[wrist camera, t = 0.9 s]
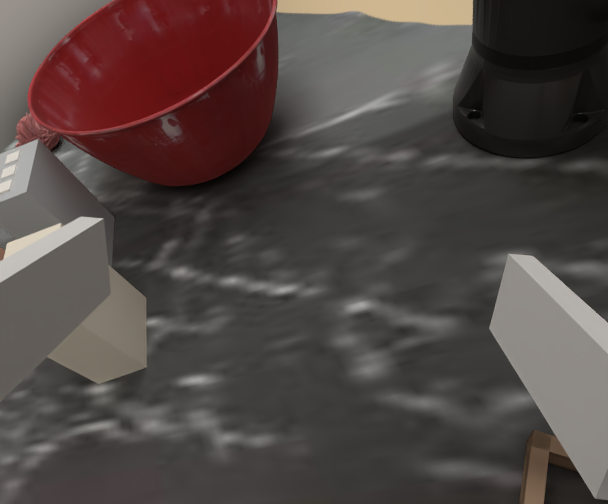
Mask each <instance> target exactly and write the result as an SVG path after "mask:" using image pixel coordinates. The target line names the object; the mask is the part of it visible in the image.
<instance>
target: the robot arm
mask: <svg viewBox="0 0 608 504" xmlns="http://www.w3.org/2000/svg"><path fill="white" fill-rule="evenodd" d="M453 118H454V122H455V125H456V127H457V129H458V130H459V132H460V133H461V134H462V135H463V136H464V137H465V138H466V139H467V140H468V141H470V142H471V143H473V144H474V145H476V146H478V147H480V148H482V149H484V150H487V151H489V152H492V153H496V154H500V155H505V156H511V157H542V156H549V155H554V154H558V153H562V152H565V151H568V150H571V149H574V148H576V147H578V146H580V145H582V144H584V143H586V142H587V141H589V140H590V139H592V138H593V137H594V136H596V135H597V134H598V133H599V132H600V131H601V130H602V129H603V127H604V126H605V125H606V123H607V121H608V0H473V33H472V46H471V48H470V51H469V54H468V56H467V59H466V61H465V64H464V66H463V69H462V71H461V74H460V77H459V79H458V82H457V84H456V87H455V90H454V96H453ZM110 294H111V288H110V277H109V267H108V257H107V246H106V236H105V226H104V219H103V218H92V217H79V218H77V219H76V220H74V221H72V222H70V223H68V224H66V225H65V226H63V227H61V228H59V229H57V230H56V231H54V232H52V233H50V234H48V235H47V236H45V237H43V238H41V239H39V240H38V241H36V242H34V243H32V244H30V245H29V246H27V247H25V248H23V249H21V250H20V251H18V252H16V253H14V254H12V255H11V256H9V257H7V258H5V259H3V260H2V261H0V402H1V401H2V400H3V399H4V398H5V397H6V396H7V395H8V394H9V393H10V392H11V391H12V390H13V389H14V388H15V387H16V386H17V385H18V384H19V383H20V382H21V381H23V380H24V379H25V378H26V377H27V376H28V375H29V374H30V373H31V372H32V371H33V370H34V369H35V368H36V367H37V366H38V365H39V364H40V363H41V362H42V361H43V360H44V359H45V358H46V357H47V356H48V355H49V354H50V353H51V352H52V351H53V350H54V349H55V348H56V347H57V346H58V345H59V344H60V343H61V342H62V341H63V340H64V339H65V338H66V337H67V336H69V335H70V334H71V333H72V332H73V331H74V330H75V329H76V328H77V327H78V326H79V325H80V324H81V323H82V322H83V321H84V320H85V319H86V318H87V317H88V316H89V315H90V314H91V313H92V312H93V311H94V310H95V309H96V308H97V307H98V306H99V305H100V304H101V303H102V302H103V301H104V300H105V299H106V298H107V297H108V296H109V295H110ZM489 329H490V331H491V332H492V334H493V335H494V337H495V339H496V340H497V342H498V344H499V345H500V347H501V348H502V350H503V352H504V353H505V355H506V356H507V358H508V360H509V361H510V363H511V364H512V366H513V368H514V369H515V371H516V372H517V374H518V376H519V377H520V379H521V380H522V382H523V384H524V385H525V387H526V389H527V390H528V392H529V393H530V395H531V397H532V398H533V400H534V401H535V403H536V405H537V406H538V408H539V409H540V411H541V413H542V414H543V416H544V417H545V419H546V421H547V422H548V424H549V426H550V427H551V429H552V430H553V432H554V434H555V435H556V437H557V438H558V440H559V442H560V443H561V445H562V446H563V448H564V450H565V451H566V453H567V454H568V456H569V458H570V459H571V461H572V462H573V464H574V466H575V467H576V469H577V471H578V472H579V474H580V475H581V477H582V479H583V480H584V482H585V483H586V485H587V487H588V488H589V490H590V491H591V493H592V495H593V496H594V498H595V499H602V500H608V323H607V322H606V321H605V320H604V319H603V318H602V317H601V316H599V315H598V314H597V313H596V312H595V311H594V310H593V309H592V308H590V307H589V306H588V305H587V304H586V303H585V302H584V301H583V300H581V299H580V298H579V297H578V296H577V295H576V294H575V293H574V292H573V291H571V290H570V289H569V288H568V287H567V286H566V285H565V284H564V283H562V282H561V281H560V280H559V279H558V278H557V277H556V276H555V275H554V274H552V273H551V272H550V271H549V270H548V269H547V268H546V267H545V266H543V265H542V264H541V263H540V262H539V261H538V260H537V259H536V258H535V257H533V256H527V255H516V254H508V258H507V262H506V266H505V270H504V273H503V277H502V281H501V285H500V289H499V293H498V297H497V301H496V305H495V309H494V312H493V316H492V320H491V324H490V328H489Z"/></svg>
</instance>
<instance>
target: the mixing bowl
mask: <svg viewBox="0 0 608 504" xmlns="http://www.w3.org/2000/svg"><path fill="white" fill-rule="evenodd" d="M276 9H277V0H113V1H111V2H110V3H108V4H107V5H105V6H104V7H102V8H100V9H99V10H97V11H96V12H95V13H93V14H92V15H90V16H89V17H87V18H86V19H85V20H83V21H82V22H81V23H80V24H78V25H77V26H76V27H75V28H74V29H73V30H71V31H70V32H69V33H68V34H67V35H66V36H65V37H64V38H63V39H62V40H61V41H60V42H59V43H58V44H57V45H56V46H55V47H54V48H53V49H52V50H51V52H50V53H49V54H48V55H47V56H46V58H45V59H44V60H43V62H42V63H41V65H40V66H39V68H38V69H37V71H36V73H35V75H34V77H33V79H32V82H31V84H30V87H29V92H28V107H29V111H30V113H31V115H32V117H33V118H34V120H35V121H36V122H37V123H38V124H39V125H41V126H42V127H43V128H45V129H47V130H49V131H52V132H55V133H57V134H59V135H60V136H61V137H63V138H64V139H66V140H67V141H69V142H70V143H72V144H73V145H75V146H76V147H78V148H79V149H81V150H83V151H84V152H86V153H88V154H89V155H91V156H93V157H95V158H96V159H98V160H100V161H102V162H104V163H106V164H108V165H110V166H112V167H114V168H116V169H118V170H120V171H123V172H125V173H127V174H130V175H133V176H135V177H138V178H140V179H143V180H146V181H149V182H152V183H155V184H160V185H166V186H185V185H194V184H198V183H203V182H206V181H209V180H212V179H214V178H217V177H219V176H221V175H223V174H225V173H226V172H228V171H230V170H232V169H233V168H235V167H236V166H237V165H239V164H240V163H241V162H242V161H244V160H245V159H246V158H247V157H248V156H249V155H250V154H251V153H252V152H253V151H254V150H255V148H256V147H257V145H258V144H259V143H260V141H261V140H262V138H263V137H264V135H265V134H266V132H267V128H268V126H269V124H270V121H271V117H272V112H273V108H274V102H275V95H276V88H277V78H278V31H277V19H276Z"/></svg>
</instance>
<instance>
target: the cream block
mask: <svg viewBox="0 0 608 504" xmlns="http://www.w3.org/2000/svg"><path fill="white" fill-rule="evenodd" d="M63 226H64V225H63V224H62V223H59V224H57V225H54V226H51V227H49V228H46V229H44V230H41V231H38V232H36V233H33V234H30V235H28V236H25V237H22V238H20V239H17V240H15V241H12V242H9V243H7V246H6V251H5V255H4V259H5V258H7V257H9V256H11V255H12V254H14V253H16V252H18V251H20V250H21V249H23V248H25V247H27V246H29V245H30V244H32V243H34V242H36V241H38V240H39V239H41V238H43V237H45V236H47V235H48V234H50V233H52V232H54V231H56V230H57V229H59V228H61V227H63ZM108 267H109V277H110V288H111V294H110V295H109V296H108V297H107V298H106V299H105V300H104V301H103V302H102V303H101V304H100V305H99V306H98V307H97V308H96V309H95V310H94V311H93V312H92V313H91V314H90V315H89V316H88V317H87V318H86V319H85V320H84V321H83V322H82V323H81V324H80V325H79V326H78V327H77V328H76V329H75V330H74V331H73V332H72V333H71V334H70V335H69V336H67V337H66V338H65V339H64V340H63V341H62V342H61V343H60V344H59V345H58V346H57V347H56V348H55V349H54V350H53V351H52V352H51V353H50V354H49V355H48V356H47V357H48V358H50V359H52V360H54V361H56V362H57V363H59V364H61V365H63V366H65V367H67V368H69V369H71V370H73V371H75V372H77V373H79V374H80V375H82V376H84V377H86V378H88V379H90V380H92V381H94V382H96V383H98V384H101V383H104V382H106V381H109V380H112V379H115V378H118V377H121V376H124V375H127V374H130V373H132V372H135V371H138V370H141V369H144V368H147V341H146V297H145V296H143V295H142V294H141V293H140V292H139V291H138V290H137V289H136V288H134V287H133V286H132V285H131V284H130V283H129V282H128V281H126V280H125V279H124V278H123V277H122V276H121V275H120V274H118V273H117V272H116V271H115V270H114V269H113V268H112V267H111V266H109V265H108Z"/></svg>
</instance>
